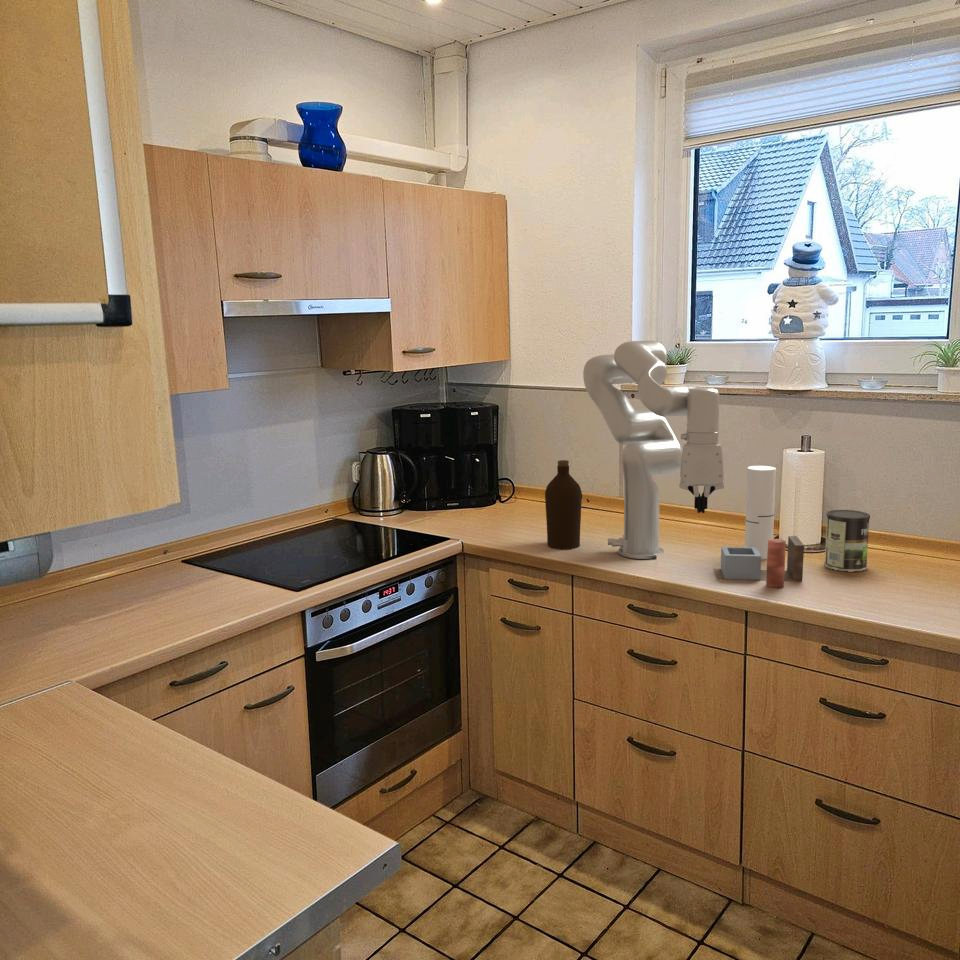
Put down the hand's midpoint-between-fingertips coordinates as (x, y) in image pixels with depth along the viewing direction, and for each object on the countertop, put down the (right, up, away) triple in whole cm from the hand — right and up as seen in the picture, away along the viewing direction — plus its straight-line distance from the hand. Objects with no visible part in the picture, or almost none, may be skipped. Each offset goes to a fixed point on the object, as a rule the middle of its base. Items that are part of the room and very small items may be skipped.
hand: (700, 511), depth 211 cm
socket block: (+10, -16, +1) cm, 19 cm away
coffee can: (+40, -15, +9) cm, 44 cm away
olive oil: (-30, -11, +36) cm, 49 cm away
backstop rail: (+14, -17, +1) cm, 22 cm away
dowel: (+16, -18, -8) cm, 25 cm away
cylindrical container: (+20, -14, +18) cm, 30 cm away
